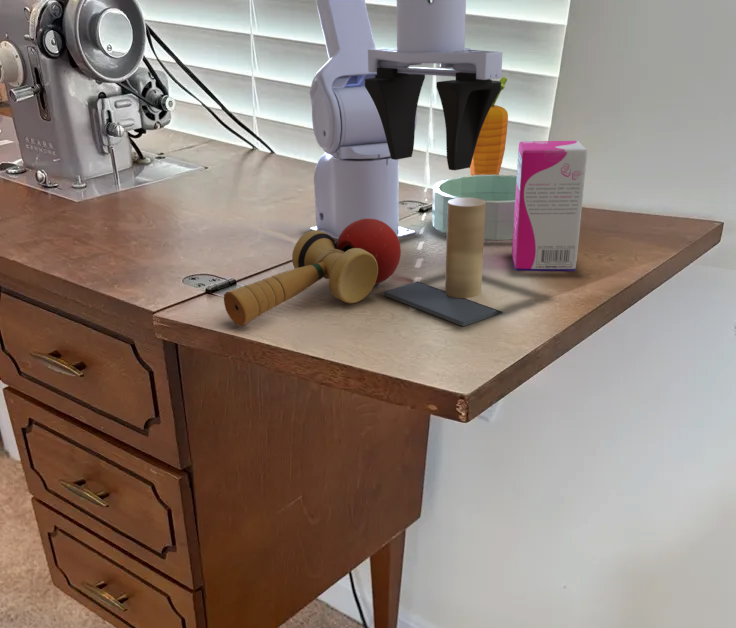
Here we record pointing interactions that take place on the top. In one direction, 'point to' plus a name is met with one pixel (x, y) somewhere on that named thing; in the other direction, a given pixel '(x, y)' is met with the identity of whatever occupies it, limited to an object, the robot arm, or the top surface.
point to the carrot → (491, 141)
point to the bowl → (485, 187)
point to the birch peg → (464, 247)
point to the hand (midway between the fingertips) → (429, 163)
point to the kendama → (324, 269)
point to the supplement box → (548, 205)
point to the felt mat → (441, 303)
